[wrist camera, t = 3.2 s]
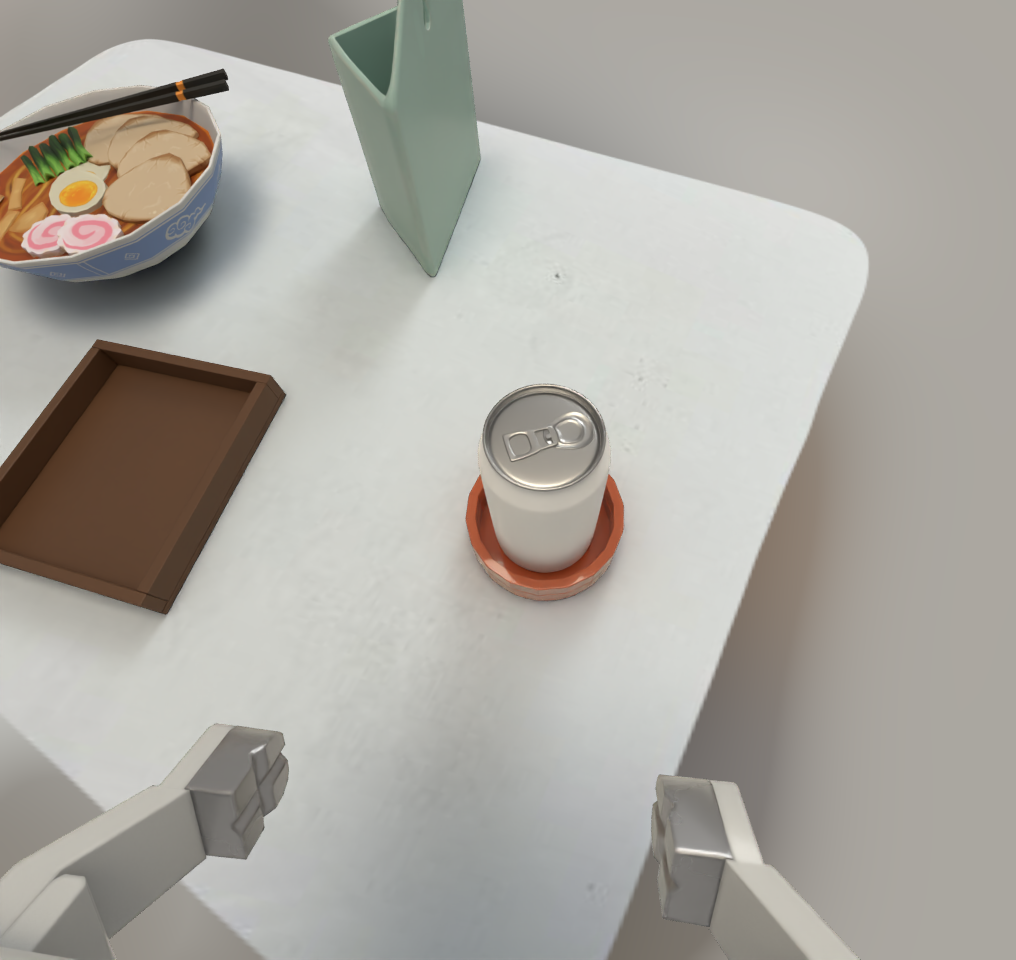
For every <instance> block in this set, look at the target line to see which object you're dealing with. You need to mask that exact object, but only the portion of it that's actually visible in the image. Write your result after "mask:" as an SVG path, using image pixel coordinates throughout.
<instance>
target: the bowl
mask: <svg viewBox="0 0 1016 960" xmlns="http://www.w3.org/2000/svg"><path fill="white" fill-rule="evenodd" d="M466 524H467V528H468V532H469V537H470V541H471V545H472V547H473V550H474V552H475V555H476V557H477V559H478V560H479V562H480V563H481V565H482V567H483V568H484V570H485V571H486V572H487V574H488V575H489V577H490V578H491V579H492V580H494V581H495V582H496V583H497V584H498V585H500V586H501V587H503V588H504V589H506V590H507V591H509V592H511V593H513V594H515V595H518V596H521V597H524V598H527V599H532V600H540V601H551V600H559V599H564V598H568V597H570V596H573V595H576V594H578V593H580V592H582V591H584V590H585V589H587V588H588V587H590V586H592V585H593V584H594V583H595V582H596V581H597V580H598V579H599V578H600V577H601V576H602V574H603V573H604V572H605V571H606V570H607V569H608V567H609V565H610V563H611V561H612V558H613V556H614V553H615V551H616V548H617V546H618V543H619V541H620V538H621V536H622V533H623V530H624V505H623V502H622V499H621V496H620V494H619V491H618V489H617V486H616V483H615V481H614V479H613V478H612V477H611V476H610V475H609V474H608V478H607V483H606V487H605V491H604V495H603V499H602V504H601V508H600V512H599V516H598V520H597V524H596V528H595V531H594V535H593V538H592V541H591V544H590V546H589V548H588V549H587V551H586V552H585V554H584V555H583V556H582V557H581V558H580V559H579V560H578V561H577V562H576V563H574V564H573V565H571V566H569V567H567V568H565V569H563V570H560V571H556V572H549V573H541V572H534V571H530V570H527V569H525V568H522V567H520V566H519V565H517V564H515V563H514V562H513V561H512V560H510V559H509V558H508V557H507V555H506V554H505V553H504V552H503V550H502V548H501V547H500V545H499V542H498V540H497V537H496V533H495V530H494V526H493V522H492V519H491V515H490V511H489V507H488V503H487V499H486V495H485V491H484V487H483V483H482V479H481V474H480V475H479V477H478V479H477V481H476V483H475V485H474V486H473V488H472V490H471V492H470V495H469V498H468V505H467V512H466Z"/></svg>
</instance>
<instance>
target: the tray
mask: <svg viewBox="0 0 1016 960" xmlns="http://www.w3.org/2000/svg"><path fill="white" fill-rule="evenodd" d="M285 395H286V394H285V393H284V392H283V390H282V389H281V388H280V386H279V385H278V384H277V382H276V381H275V380H274V379H273V377H272V376H271V375H267V374H262V373H257V372H253V371H248V370H243V369H238V368H233V367H228V366H224V365H219V364H214V363H209V362H204V361H200V360H195V359H190V358H185V357H180V356H175V355H171V354H166V353H161V352H156V351H151V350H147V349H142V348H137V347H132V346H127V345H122V344H118V343H113V342H108V341H103V340H98V339H97V340H96V342H95V343H94V344H93V346H92V348H90V350H89V351H88V352H87V354H86V355H85V356H84V358H83V359H82V360H81V362H80V363H79V364H78V366H77V367H76V368H75V370H74V371H73V372H72V373H71V375H70V376H69V377H68V379H67V380H66V381H65V383H64V384H63V385H62V387H61V388H60V389H59V391H58V392H57V393H56V395H55V396H54V397H53V399H52V400H51V401H50V402H49V404H48V405H47V406H46V408H45V409H44V410H43V412H42V413H41V414H40V416H39V417H38V418H37V420H36V421H35V422H34V424H33V425H32V426H31V427H30V429H29V430H28V431H27V433H26V434H25V435H24V437H23V438H22V439H21V441H20V442H19V443H18V445H17V446H16V447H15V449H14V450H13V451H12V452H11V454H10V455H9V456H8V458H7V459H6V460H5V462H4V463H3V464H2V466H1V467H0V563H1V564H4V565H7V566H10V567H13V568H17V569H20V570H23V571H26V572H30V573H33V574H36V575H39V576H43V577H46V578H49V579H52V580H56V581H59V582H62V583H65V584H68V585H72V586H75V587H78V588H81V589H85V590H88V591H91V592H94V593H98V594H101V595H104V596H107V597H111V598H114V599H117V600H120V601H123V602H127V603H130V604H133V605H136V606H140V607H143V608H146V609H149V610H153V611H156V612H159V613H162V614H167V613H168V611H169V609H170V607H171V605H172V603H173V602H174V600H175V598H176V596H177V594H178V592H179V591H180V589H181V587H182V585H183V583H184V581H185V579H186V578H187V576H188V574H189V572H190V570H191V568H192V567H193V565H194V563H195V561H196V559H197V557H198V556H199V554H200V552H201V550H202V548H203V546H204V544H205V543H206V541H207V539H208V537H209V535H210V533H211V532H212V530H213V528H214V526H215V524H216V522H217V521H218V519H219V517H220V515H221V513H222V511H223V509H224V508H225V506H226V504H227V502H228V500H229V498H230V497H231V495H232V493H233V491H234V489H235V487H236V486H237V484H238V482H239V480H240V478H241V476H242V474H243V473H244V471H245V469H246V467H247V465H248V463H249V462H250V460H251V458H252V456H253V454H254V452H255V450H256V449H257V447H258V445H259V443H260V441H261V439H262V438H263V436H264V434H265V432H266V430H267V428H268V427H269V425H270V423H271V421H272V419H273V417H274V415H275V414H276V412H277V410H278V408H279V406H280V404H281V403H282V401H283V399H284V397H285Z"/></svg>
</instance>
